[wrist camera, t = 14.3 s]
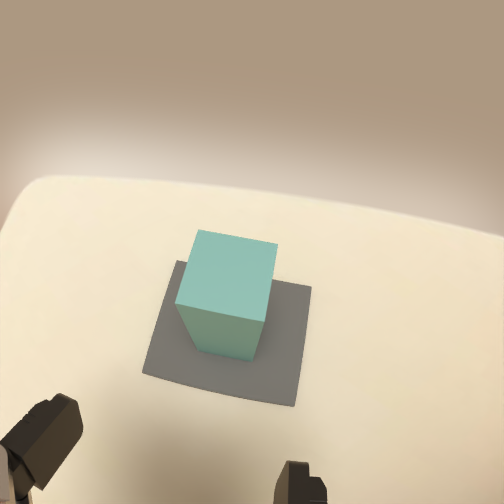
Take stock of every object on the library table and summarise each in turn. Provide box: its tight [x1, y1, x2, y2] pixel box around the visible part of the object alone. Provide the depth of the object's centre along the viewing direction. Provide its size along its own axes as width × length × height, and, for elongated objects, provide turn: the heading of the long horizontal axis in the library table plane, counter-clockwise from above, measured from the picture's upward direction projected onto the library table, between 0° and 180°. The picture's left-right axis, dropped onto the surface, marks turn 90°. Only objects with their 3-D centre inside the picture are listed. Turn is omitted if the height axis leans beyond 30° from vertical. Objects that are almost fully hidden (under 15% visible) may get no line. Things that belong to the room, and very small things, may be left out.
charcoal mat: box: [142, 260, 311, 407], centre depth 28 cm, size 14×12×1 cm
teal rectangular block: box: [175, 230, 278, 362], centre depth 23 cm, size 5×5×12 cm
